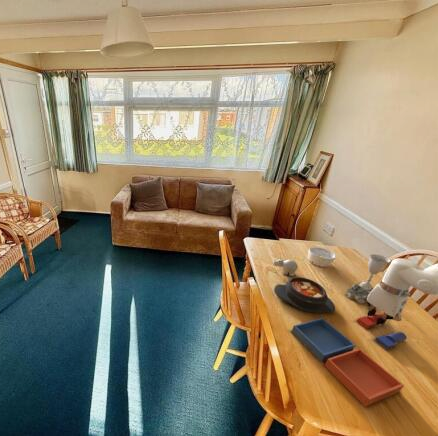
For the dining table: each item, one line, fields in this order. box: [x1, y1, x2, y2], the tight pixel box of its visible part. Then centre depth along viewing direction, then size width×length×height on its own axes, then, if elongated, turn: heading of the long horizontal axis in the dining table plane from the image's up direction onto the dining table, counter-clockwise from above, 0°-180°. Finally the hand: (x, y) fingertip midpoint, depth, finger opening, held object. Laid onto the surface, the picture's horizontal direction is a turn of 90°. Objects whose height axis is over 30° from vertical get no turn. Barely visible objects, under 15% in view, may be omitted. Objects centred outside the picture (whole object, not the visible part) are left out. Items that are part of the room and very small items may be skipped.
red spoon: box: [356, 312, 383, 330], centre depth 98 cm, size 11×4×3 cm, turn 105°
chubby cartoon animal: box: [273, 257, 299, 278], centre depth 129 cm, size 7×12×8 cm, turn 51°
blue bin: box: [291, 317, 356, 363], centre depth 90 cm, size 13×15×4 cm
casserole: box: [273, 276, 336, 314], centre depth 109 cm, size 25×19×8 cm
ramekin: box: [307, 246, 337, 268], centre depth 139 cm, size 13×13×7 cm
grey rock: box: [346, 283, 371, 305], centre depth 112 cm, size 11×8×4 cm
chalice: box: [358, 253, 391, 291], centre depth 116 cm, size 7×7×18 cm
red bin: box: [324, 348, 405, 407], centre depth 77 cm, size 13×15×4 cm
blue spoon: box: [374, 331, 408, 350], centre depth 90 cm, size 11×4×3 cm, turn 105°
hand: (374, 320), depth 99 cm, fingers closed on red spoon, 3 cm apart
